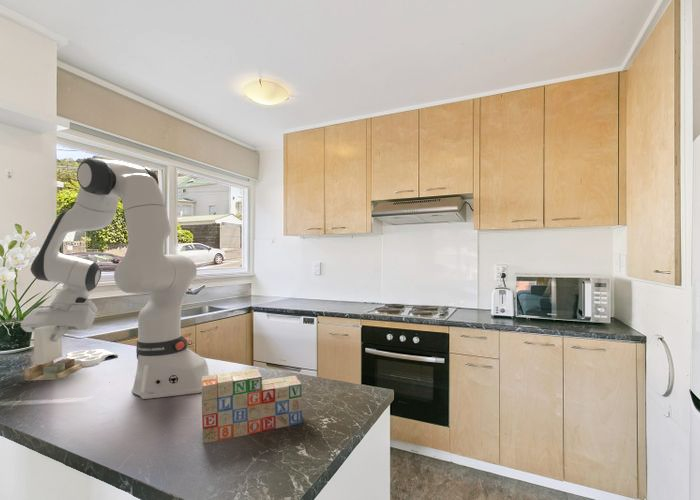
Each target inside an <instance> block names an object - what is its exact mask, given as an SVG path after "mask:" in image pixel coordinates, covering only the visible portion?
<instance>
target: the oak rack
mask: <svg viewBox="0 0 700 500" xmlns="http://www.w3.org/2000/svg"><path fill="white" fill-rule="evenodd" d="M54 361H55V360H52V361H50V362H48V363H45V364H40V365H34V364H33V365H31V366H29V367H26V368H25V369H24V381H29V382H30V381H48V380H51V381H52V380H61V379H63V378H65V377H67V376H69V375H71V374H73V373H75V372H78V371H79V370H81V369H83V367H82V364H77V365H75V366H73V367H71V368H69V369H67V370H65V371H62V372H60V373H58V374H57V378H54V379H44V373H43V368H44V367H46V366H48V365H51V364H53V363H55V362H54Z"/></svg>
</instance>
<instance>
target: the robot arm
mask: <svg viewBox="0 0 700 500" xmlns="http://www.w3.org/2000/svg"><path fill="white" fill-rule="evenodd" d="M76 178H77V183H78V185H79V186H80V187H79V189H78V192H77V195H76V198H75V202H74V205H73V206H72V207H71V208H70V209H68V210H63V211H62V212H61V213H60V214H58V216H57V217H56V218H55V221H54V222H53V224H52V226H51V228H50V229H49V232H48V234H47V236H46V238H45V240H44V241H43V243H42V245H41V248H40V249H39V252H38V253H37V255H36V256H35V257H34V259H33V261H32V262H31V264H30V272H31V274H32V275H33V276H34V277H35V278H36V280H38V281H43V282H44V281H46V282H53V283H57V284H63V285H62V289H60V291H58V292H57V293H56V296H55V297H54V298H53V300H52V301H51V303H50V305H46V306H44V305H41V306H38V307H36V308H34V309H32V310H30V312H28V314H27V315H26V316H25V317H24V318H23V320H22V321H21V323H20V328H21V329H22V330H23V331H24V332H26V333H34V329H36V328H39V327H43V326H47V325H56V326H59V327H60V328H59V331H58V332H57V333H56V334H52V336H51V338H50V340H51V341H52V342H57V341H58V340H59V338H60V337H61V336H62V337H63V336H64V335H65V334H67V332H68V331H81V330H82V331H83V330H84V331H86V330H88V329H90V328H91V327H92V325H93V323H94V321H95V318H96V313H97V312H98V311H99V309H98V308H97V306H96V304H95V303H94V302H93V301H92V300H91V299H90V298H89V296H91V295H92V293H93V292H94V290H95V288H97V285H98V283H99V282H100V280H101V276H102V270H101V267H100V266H99V265H98V263H97V262H96V261H92V260H89V259H85V258H81V257H76V256H73V255H72V256H71V255H68V254H64V253H62V252H60V248H61V246H62V244H63V242H64V240H65V238H66V236H67V234H68V233H74V232H93V231H99V230H102V229H104V228H107V227H108V226H109V225H111V224H112V223H113V220H114V219H115V216H116V212H117V209H118V205H119V200H120V199H121V203H122V210H123V215H124V220H125V224H126V230H127V236H128V241H127V247H126V248H127V249H126V251H125V254H124V256H123V258H122V259H121V260H120V261H119V262H118V263H117V265H116V267H115V269H114V273H113V274H114V275H113V278H114V282H115V284H116V286H117V287H118V288H119V290H120V291H122V292H123V293H127V294H135V295H145V294H150V295H149V298H148V301H147V303H146V304H145V306H144V307H142V309H141V310H140V311H139V313H138V315H137V328H138V329H137V331H138V333H137V337H138V339H137V341H136V349H135V350H136V353H135V354H136V360H137V366H136V373H135V379H134V382H133V386H132V389H131V391H132V393H133V394H134V395H137V396H140V398H141V399H142V400H148V399H157V398H165V397H167V398H168V397H173V396H175V397H176V396H184V395H191V394H200V393H202V376H208V375H216V373H214V372H209V367H208V366H209V365H208V362H207V361H206V359H205V358H204V357H202V356H200V355H199V354H197V353H196V352H194V351H192V350H191V349H190V348H188V342H190V340H189V339H190V337H187V338H185V337H183V336H182V335H181V332H182V331H181V329H182V328H181V324H182V323H181V321H182V319H181V318H182V315H181V314H182V308H183V307H182V306H183V303H184V300H185V297H186V294H187V291H188V290H189V287H190V286H191V284H192V283H193V282H194V281H195V279H196V277H197V273H198V272H197V266H196V264H195V262H194V260H192V259H191V258H190V257H188V256H186V255H185V256H184V255H180V254H175V253H174V254H164V243H165V240H166V239H167V238H168V237H169V236H170V234H171V231H172V229H171V225H170V220H169V216H168V211H167V207H166V203H165V200H164V197H163V194H162V191H161V187H160V186H159V185H160V184H159V182H160V181H159V178H158V176H157V174H156V172H155V171H154V170H153V169H151V168H148V167H146V166H143V165H140V166H139V165H137V164H132V163H128V162H124V161H122V160H121V161H119V160H111V159H110V160H109V159H102V158H85V159H84V160H82V161H81V163H80V164H79V165H78V168H77V171H76Z"/></svg>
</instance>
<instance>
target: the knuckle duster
mask: <svg viewBox="0 0 700 500" xmlns="http://www.w3.org/2000/svg"><path fill="white" fill-rule="evenodd" d="M109 356H114V357H116V358H119V355H118V354H117V353H113V352H111V351H108V350H106V349H103V348H97V349H91V350H75V351H71V352H68V353H67V354H66V356H65V359H75V365H77V364H82V368H85V367H92V366H96V365H99V364H101V363H102V362H104V361H105V359H106V358H107V357H109Z"/></svg>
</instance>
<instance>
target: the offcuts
mask: <svg viewBox="0 0 700 500" xmlns="http://www.w3.org/2000/svg"><path fill="white" fill-rule="evenodd" d="M73 366H75V359H66V358H63V359H59V360H58V361H56V362H54V363H53V364H51V365H48V366H46V367H44V368H43V373H44V379H53V380H55V379H54V378H57V374H58V373H60V372H62V371H65V370H67V369H69V368H71V367H73Z"/></svg>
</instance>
